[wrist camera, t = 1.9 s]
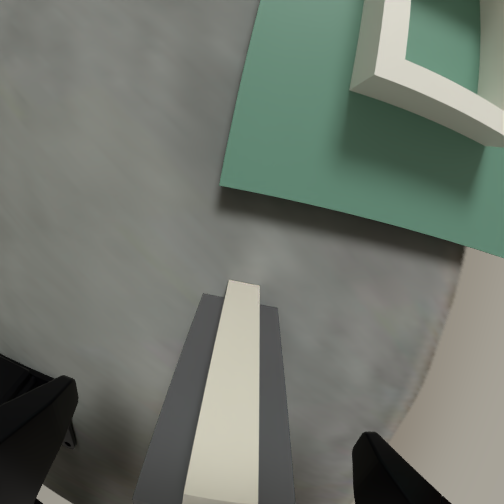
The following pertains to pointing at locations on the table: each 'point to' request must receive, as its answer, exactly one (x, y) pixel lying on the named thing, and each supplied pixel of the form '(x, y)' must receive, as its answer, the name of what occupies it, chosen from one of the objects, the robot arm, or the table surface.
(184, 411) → the plug
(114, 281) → the table surface
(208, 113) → the table surface
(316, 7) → the board
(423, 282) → the table surface
